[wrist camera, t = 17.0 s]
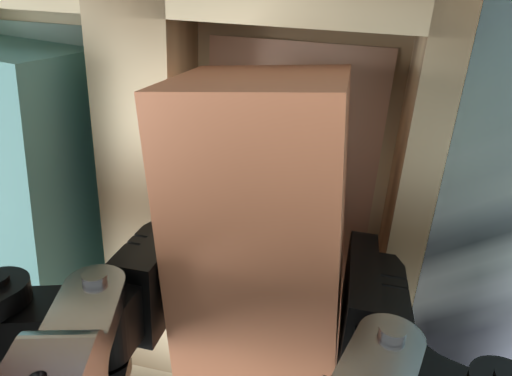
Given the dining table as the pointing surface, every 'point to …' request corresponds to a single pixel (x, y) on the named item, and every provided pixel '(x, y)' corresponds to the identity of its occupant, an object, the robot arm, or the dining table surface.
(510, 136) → the dining table surface
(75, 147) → the batten teal
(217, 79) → the block
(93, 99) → the slot rack
